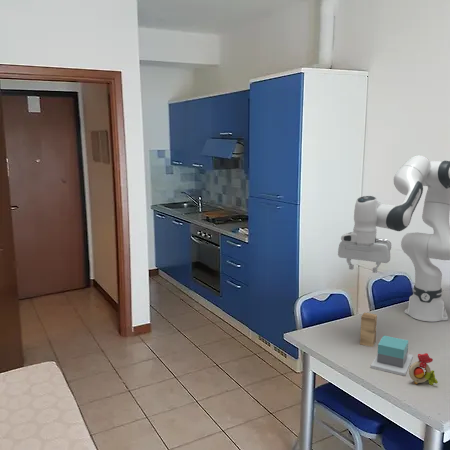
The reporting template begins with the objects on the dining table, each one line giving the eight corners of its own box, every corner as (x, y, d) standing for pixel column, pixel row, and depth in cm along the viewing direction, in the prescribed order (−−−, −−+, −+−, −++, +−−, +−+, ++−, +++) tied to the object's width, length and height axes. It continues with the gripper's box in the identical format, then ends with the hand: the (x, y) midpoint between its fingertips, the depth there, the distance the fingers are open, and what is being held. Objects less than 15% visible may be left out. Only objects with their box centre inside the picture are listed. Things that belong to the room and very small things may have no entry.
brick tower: (380, 350, 184) (381, 331, 182) (413, 357, 178) (414, 337, 176) (370, 367, 170) (371, 347, 169) (405, 375, 164) (406, 354, 163)
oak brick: (363, 339, 193) (364, 312, 191) (375, 342, 191) (377, 314, 189) (360, 344, 189) (361, 316, 187) (372, 347, 187) (374, 318, 184)
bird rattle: (420, 394, 156) (444, 382, 157) (409, 366, 154) (434, 355, 154) (411, 384, 163) (434, 373, 163) (400, 358, 160) (424, 346, 160)
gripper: (393, 238, 183) (391, 272, 185) (342, 233, 193) (340, 265, 196) (389, 241, 178) (387, 276, 180) (337, 236, 188) (336, 269, 190)
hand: (362, 270), depth 188 cm, fingers open, 8 cm apart
